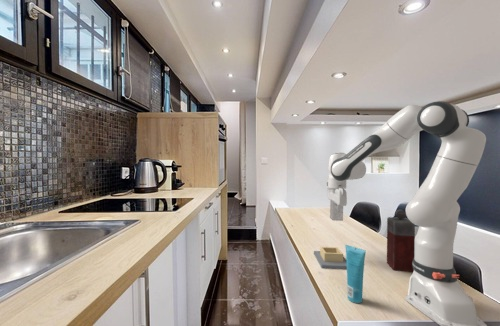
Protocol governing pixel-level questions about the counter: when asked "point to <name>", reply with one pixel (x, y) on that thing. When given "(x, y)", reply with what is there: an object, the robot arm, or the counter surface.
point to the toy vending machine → (400, 242)
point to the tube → (355, 273)
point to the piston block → (333, 213)
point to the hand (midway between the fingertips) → (336, 211)
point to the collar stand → (331, 258)
